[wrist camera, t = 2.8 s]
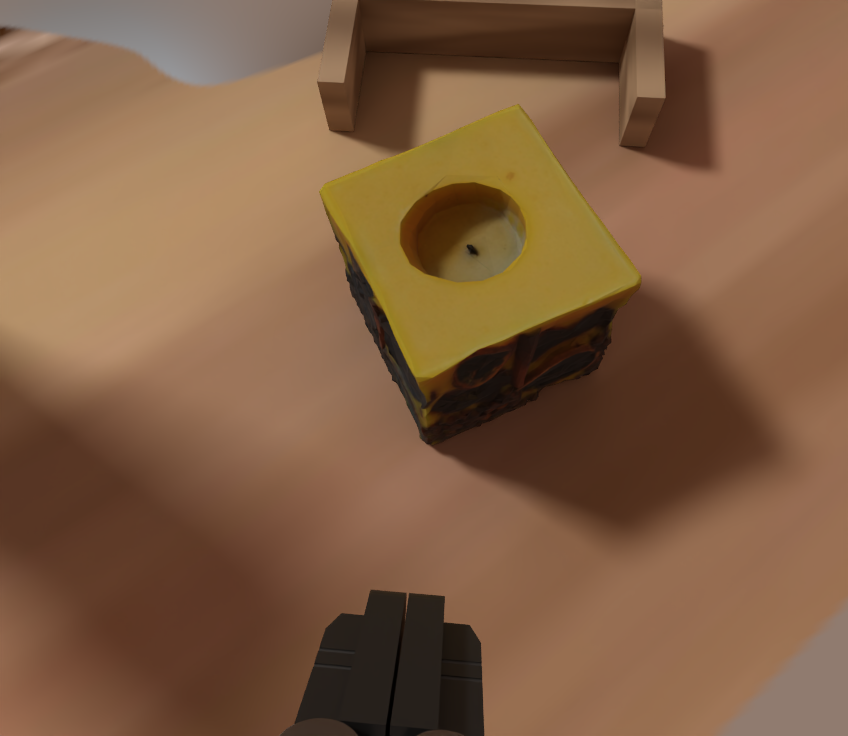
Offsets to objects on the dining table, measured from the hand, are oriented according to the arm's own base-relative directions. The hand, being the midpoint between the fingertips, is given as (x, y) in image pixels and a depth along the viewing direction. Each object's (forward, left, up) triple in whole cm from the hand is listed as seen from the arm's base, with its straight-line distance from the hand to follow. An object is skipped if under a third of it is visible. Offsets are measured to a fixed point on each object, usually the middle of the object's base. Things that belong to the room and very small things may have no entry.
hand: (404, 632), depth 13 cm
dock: (-7, +31, -19) cm, 37 cm away
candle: (-3, +15, -19) cm, 24 cm away
